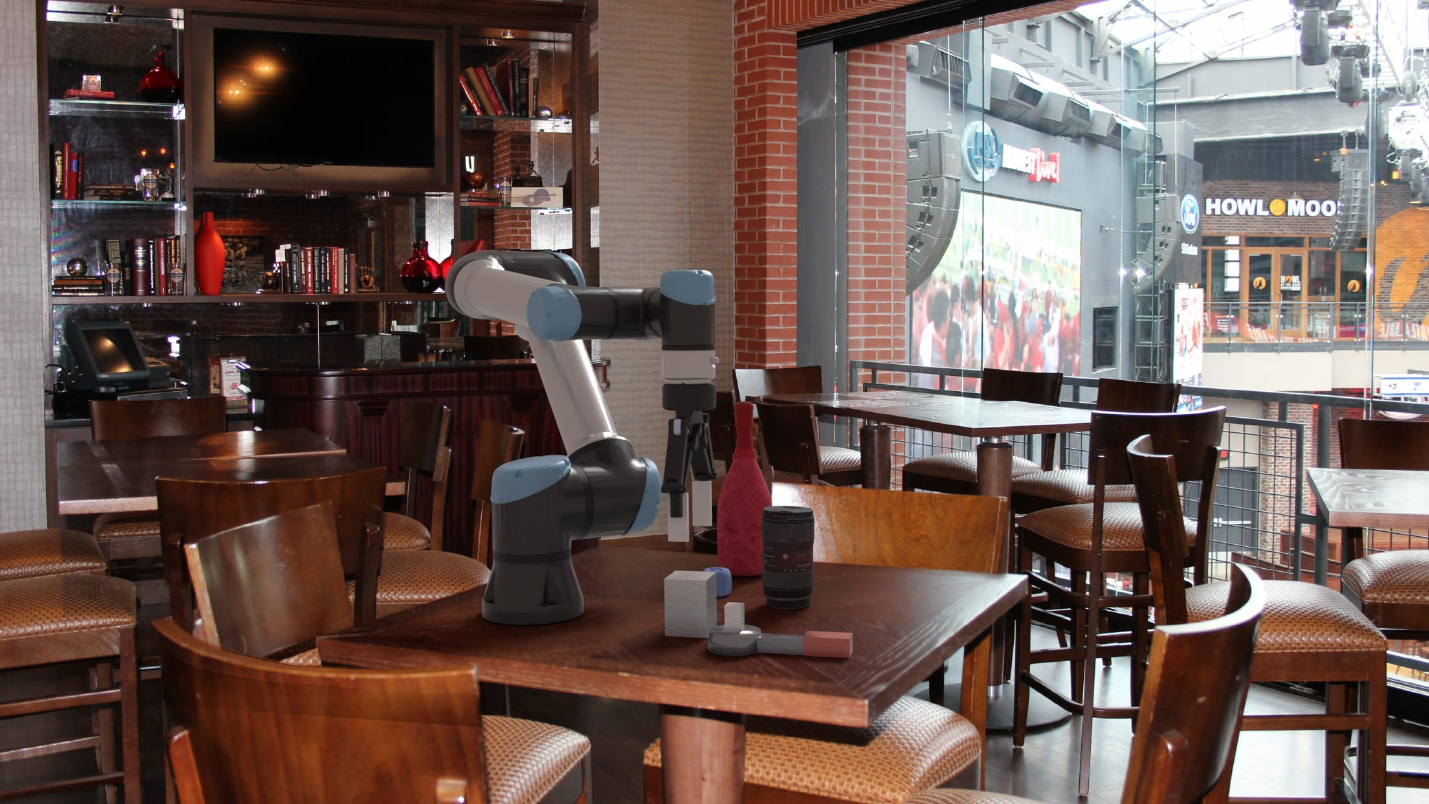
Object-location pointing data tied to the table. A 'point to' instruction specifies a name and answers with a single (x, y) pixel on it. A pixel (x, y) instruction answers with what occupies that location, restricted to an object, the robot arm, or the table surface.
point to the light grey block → (690, 603)
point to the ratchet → (773, 639)
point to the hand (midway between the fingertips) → (690, 533)
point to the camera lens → (788, 556)
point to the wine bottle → (742, 503)
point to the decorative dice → (721, 580)
